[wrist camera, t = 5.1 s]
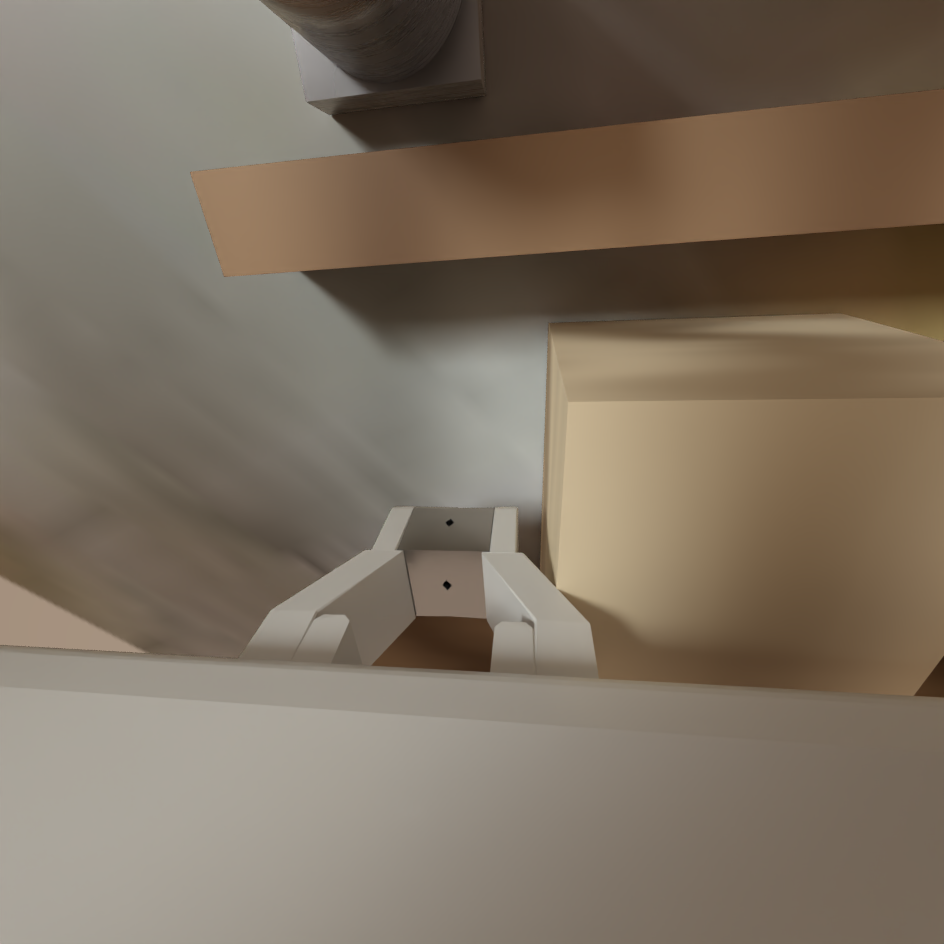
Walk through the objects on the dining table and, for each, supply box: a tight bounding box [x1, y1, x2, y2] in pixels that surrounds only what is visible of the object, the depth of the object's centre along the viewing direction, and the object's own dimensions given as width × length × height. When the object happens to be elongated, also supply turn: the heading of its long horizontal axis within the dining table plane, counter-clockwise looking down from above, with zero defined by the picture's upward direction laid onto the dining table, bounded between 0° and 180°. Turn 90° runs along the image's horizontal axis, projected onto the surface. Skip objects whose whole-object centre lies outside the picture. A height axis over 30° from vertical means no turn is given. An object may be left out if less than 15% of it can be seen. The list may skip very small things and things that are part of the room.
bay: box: [190, 89, 944, 698], centre depth 10 cm, size 19×14×3 cm
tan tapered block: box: [540, 313, 944, 696], centre depth 9 cm, size 6×8×5 cm
